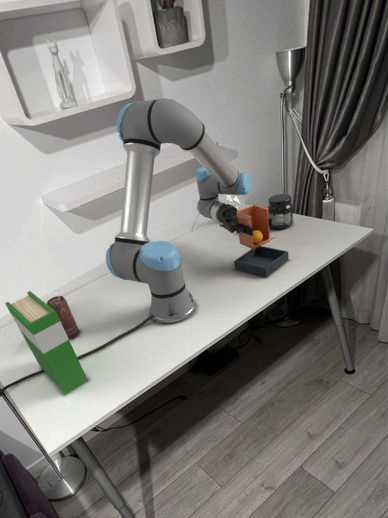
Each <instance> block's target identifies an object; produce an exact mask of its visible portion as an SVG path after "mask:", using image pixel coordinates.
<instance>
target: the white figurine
mask: <svg viewBox="0 0 388 518" xmlns="http://www.w3.org/2000/svg"><path fill="white" fill-rule="evenodd" d="M224 200H225V201H226V203H227V204H230V205H233V206H234V207H236V209H237V210H238V208H239V206H240V205H241V202H240V199H239V198H238V195H234V197H233V198H232V195H229V194H226V195H225V198H224Z"/></svg>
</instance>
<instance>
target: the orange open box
mask: <svg viewBox="0 0 388 518" xmlns="http://www.w3.org/2000/svg"><path fill="white" fill-rule="evenodd" d="M236 215H237V222H238V224H244V225H246V226H249V227H252V228H253V231H255V230H258V231H260V232H261V233H262V235H263V238H262V240H261V242H259V243H253V236H250V235H248V234H245V233H242V232H240V233H239V234H238V239H239V241H238V242H239V244H240V245H242V246H244V247H247V248H249V249H250V250H251V249H255V248H257V247H259V246H264V245H265V244H268V243H270V242H271V241H272V240H274V239H275V238H276V236H272V237H271V235H270V234H271V233H270V227H269V217H268V209H267V208H266V207H264V206H259V205H256V204H252V205H250V206H247V207H245V208H243V209H239V211H238V212H236ZM239 226H240V225H239Z"/></svg>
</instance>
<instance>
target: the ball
mask: <svg viewBox="0 0 388 518" xmlns="http://www.w3.org/2000/svg"><path fill="white" fill-rule="evenodd" d="M262 238H263V235H262V233H261V232H260V231H258V230H255V231H253V243H259V242H261V240H262Z"/></svg>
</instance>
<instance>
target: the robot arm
mask: <svg viewBox="0 0 388 518" xmlns="http://www.w3.org/2000/svg"><path fill="white" fill-rule="evenodd" d="M116 130H117V133H118V137H119V140H121V142H122V147H123V149H124V151H125V152H126V164H125V174H124V175H125V176H124V185H123V186H124V187H123V196H122V208H121V219H120V230H119V233H117V234H116V235H115V236H114V242H113V243H112V244H110V245H109V247H108V248H107V250H106V253H105V264H106V267H107V269H108V271H109V272H110V274H111V275H113V276H114V277H116V278H118V279H121V280H124V281H132V282H135V283H137V282H138V283H140V284H141V283H143V284H147V285H148V288H149V292H150V297H151V298H150V309H149V311H150V316H148V317H147V318H145V319H144V320H142V322H141V323H139V324H137V325H136V326H134V327H133V328H130V329H129V330H126V331H125V332H122V333H121V334H119V335H117V336H116V337H114V338H111V339H110V340H109V341H107V342H106V343H103V344H102V345H100V346H98V347H96V348H94V349H92V350H90V351H87V352H85V353H83V354H80V355H78V356H77V358H78V360H80V359H83V358H86V357H87V356H90V355H92V354H94V353H97V352H98V351H100V350H102V349H104V348H106V347H107V346H109V345H111V344H113V343H115V342H117V341H118V340H120V339H122V338H123V337H125V336H127V335H129V334H131V333H133V332H135V331H136V330H138V329H140V328H141V327H143V326H144V325H145V324H146V323H148V322H149V321H151V320H154V321H155V322H157V323H159V324H164V325H165V324H167V325H168V324H176V323H179V322H182V321H184V320H187V319H188V318H189V317H191V316H192V315H193V314H194V313H195V311H196V302H195V299H194V298H193V297H194V296H193V295H192V294H191V292H190V291H189V290H188V288H187V286H186V281H185V277H184V271H183V266H182V261H181V260H182V259H181V255H180V254H179V251H178V249H177V247H176V245H175V244H174V243H172V242H169V241H166V240H157V241H155V240H153V241H151V240H150V238H149V237H148V226H149V225H148V224H149V216H150V206H151V196H152V186H153V178H154V177H153V176H154V168H155V159H156V158H157V157H158V156H159V155H160V154H161V146H162V144H172V145H175V146H178V147H179V148H180V149H181V150H183V151H184V152H189V153H190V154H191V155H192V156H193V157H194V159H196V160H197V161H198V162H199V164H200V165H202V166H201V167H200V168H198V169H197V170H196V171H195V176H196V178H195V179H196V185H197V190H198V191H197V192H198V195H199V199H198V200H197V204H196V211H197V213H198V214H199V215H201V216H203V217H204V218H208V219H210V220H212V221H215V222H217V223H218V225H219V227H220V228H223V229H224V230H227V232H229V233H231V234H235V232H236V234H237V235H239V233H240V232H242V233H245V234H248V235H250V236H253V228H252V227H249V226H246V225H244V224H238V222H237V215H236V212H238V211H240V209H239V210H237V209H238V208H237V209H236V207H234V206H233V205H230V204H227V202H223V201H221V200H220V198H219V195H230V196H233V195H234V196H245V195H248V194H249V193H250V191H251V189H252V177H251V175H250V174H249V173H247V172H240V171H238V169H237V167H235V165H234V164H233V163H232V162H231V161H230V159H229V158H228V157H227V155H225V153H224V152H223V151H222V149H221V148H220V147H219V146H218V145H217V144H216V143H215V141H214V140H213V139H212V138H211V137H210V135H209V134H208V133H207V131H206V126H205V124H204V123H203V122H202V120H201V119H200V118H199V117H198V115H196V114H195V113H194V112H193V111H192V110H191V109H189V108H188V107H186V106H185V105H184V104H182V103H180V102H178V101H176V100H174V99H172V98H159V99H149V100H135V101H133V102H130V103H126V104H125V105H123V107H122V108H121V109H120V111H119V112H118V115H117V120H116ZM239 225H240V226H239ZM272 226H273V224H272V219H271V218H269V228H270V227H272ZM41 374H45V372H44V370H42V369H41V370H38V371H36V372H33V373H29V374H28V375H25V376H23V377H21V378H19V379H16V380H15V381H13V382H11V383H9V384H7V385H5V386H3V388H1V390H0V398H1V397H2V396H3V394H4V393H5V391H7V390H8V389H9V388H12V387H14V386H16V385H18V384H20V383H21V382H24V381H27V380H28V379H30V378H34V377H36V376H38V375H41ZM46 482H47V484H48V485H49V487H50V488H53V485H51V483H50V482H49V481H48V480H47V479H46Z"/></svg>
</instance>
